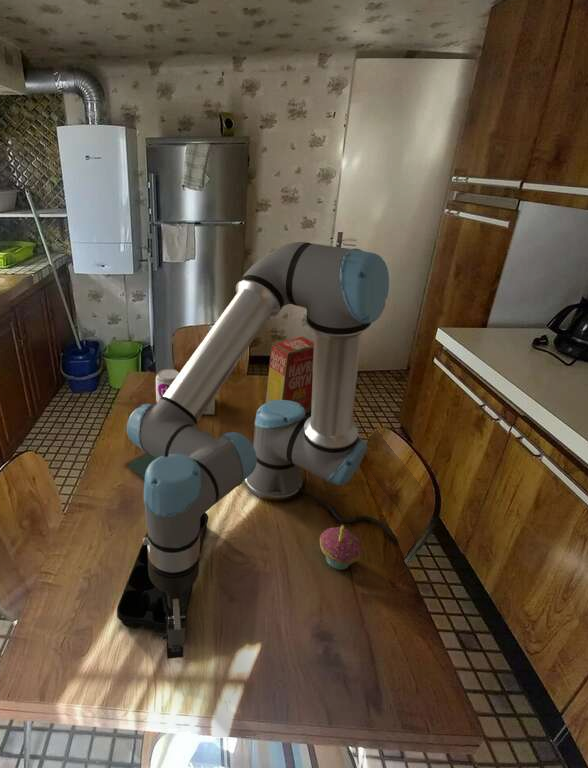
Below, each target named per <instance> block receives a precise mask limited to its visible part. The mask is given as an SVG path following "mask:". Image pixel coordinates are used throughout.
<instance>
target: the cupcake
mask: <svg viewBox="0 0 588 768" xmlns="http://www.w3.org/2000/svg"><path fill="white" fill-rule="evenodd" d="M319 546H320V549H321V552H322V554H323V555H324V556H325V560H326V562H327V564H328V565H329V566H330V567H332V568H333V569H336V570H339V571H340V570H341V571H342V570H346V569H347V568H348V567H350V565H351V564H354V563H356V562H358V561H359V560H360V557H361V555H362V552H363V546H362V544H361V541H360V539H359V537H358V536H357V535H355V534H354V533H353V532H352V531H350V530H349V529H346V528H345V526H344V524H342V525H341V526H340V527H339V526H337V527H336V526H335V527H334V526H333V527H328V528H326V529H325V530H323V532H322V533H321V535H320V536H319Z"/></svg>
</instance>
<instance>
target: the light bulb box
mask: <svg viewBox="0 0 588 768" xmlns="http://www.w3.org/2000/svg"><path fill="white" fill-rule="evenodd" d="M215 410H216V396H215V397H214V398H213V399H212V401H211V402H210V404H209V405H208V407H207V408H206V410H205V411H204V413H203V414H202V415H215V413H216V411H215Z"/></svg>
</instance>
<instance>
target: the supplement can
mask: <svg viewBox="0 0 588 768" xmlns="http://www.w3.org/2000/svg"><path fill="white" fill-rule="evenodd" d="M179 373H180V371H178V370H176V369H173V368H164V369H161V370H159V371H157V374H156V376H155V397H156V398H155V401H156V402H155V405H156V404H157V403H158V401H159V400H160V399H161V397H162V396H163V395H164V393H165V392H166V391H167V389H168V388H169V387H170V385H171V384H172V382H173V381H174V380H175V378H176V377H177V375H178V374H179Z"/></svg>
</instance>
